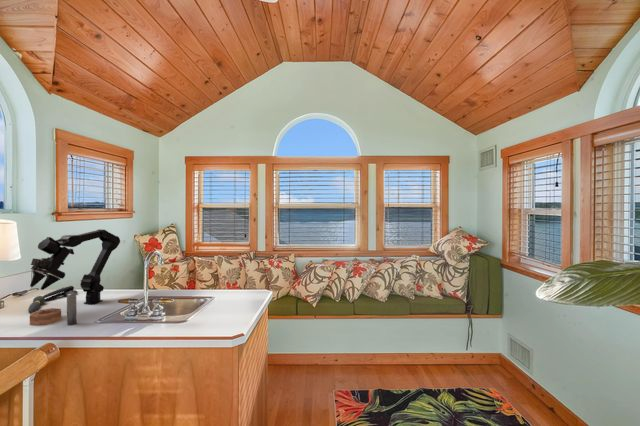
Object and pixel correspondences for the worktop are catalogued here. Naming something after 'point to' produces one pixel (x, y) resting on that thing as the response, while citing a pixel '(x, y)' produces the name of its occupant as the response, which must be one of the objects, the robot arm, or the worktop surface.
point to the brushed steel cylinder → (71, 309)
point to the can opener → (64, 293)
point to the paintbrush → (36, 303)
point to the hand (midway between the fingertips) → (36, 288)
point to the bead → (45, 316)
